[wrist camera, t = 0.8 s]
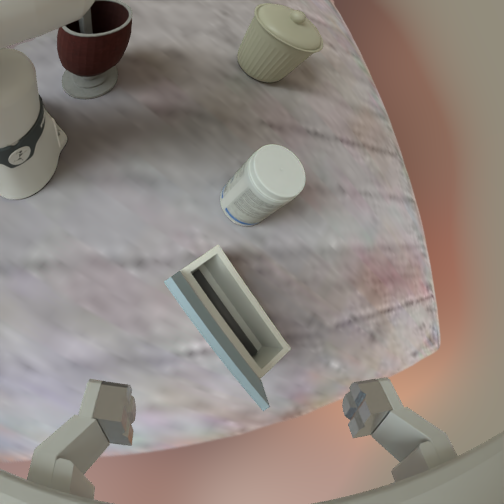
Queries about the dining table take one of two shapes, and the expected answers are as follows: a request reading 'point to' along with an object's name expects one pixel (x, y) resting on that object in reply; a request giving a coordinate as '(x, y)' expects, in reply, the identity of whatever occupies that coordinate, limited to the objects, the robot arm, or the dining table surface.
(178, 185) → the dining table surface
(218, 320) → the beige open box
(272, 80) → the canister
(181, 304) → the cover
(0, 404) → the dining table surface
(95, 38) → the brown utensil pot
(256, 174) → the supplement tub
